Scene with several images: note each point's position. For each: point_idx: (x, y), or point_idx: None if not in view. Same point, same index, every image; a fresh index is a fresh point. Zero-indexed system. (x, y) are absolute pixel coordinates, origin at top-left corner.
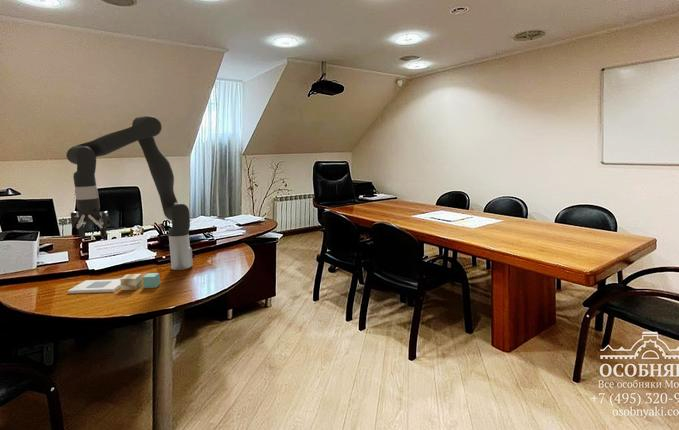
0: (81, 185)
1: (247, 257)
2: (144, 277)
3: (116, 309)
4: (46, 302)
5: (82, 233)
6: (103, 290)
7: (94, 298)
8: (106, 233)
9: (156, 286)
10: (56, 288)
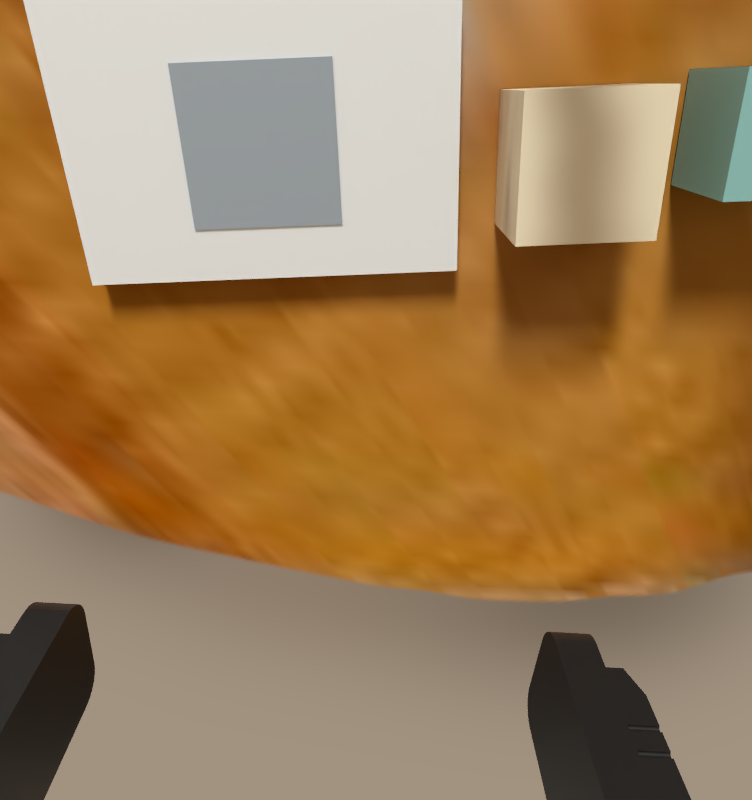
0: None
1: None
2: (737, 200)
3: (598, 531)
4: (84, 423)
5: (51, 735)
6: (372, 271)
7: (369, 374)
8: (647, 713)
9: None
10: None
